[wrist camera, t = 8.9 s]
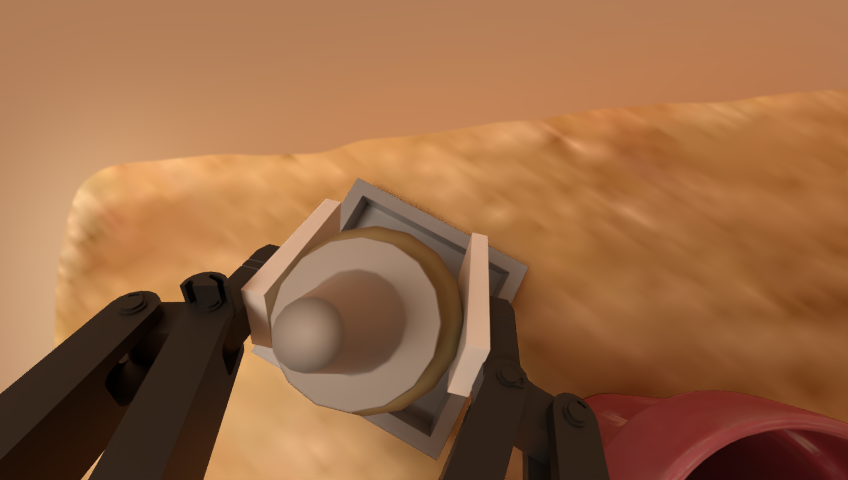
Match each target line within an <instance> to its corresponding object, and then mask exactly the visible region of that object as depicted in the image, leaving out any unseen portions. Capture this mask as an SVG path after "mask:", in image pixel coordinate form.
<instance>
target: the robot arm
mask: <svg viewBox="0 0 848 480" xmlns="http://www.w3.org/2000/svg"><path fill="white" fill-rule="evenodd" d="M340 218H341V202H338V201H334V200H330V199H325V200H324V201H323V202H322V203H321V204H320V205H319V206H318V208H317V209H316V210H315V211H314V212H313V213H312V214H311V215H310V216H309V217H308V218H307V219H306V220H305V221H304V222H303V224H302V225H301V226H300V227H299V228H298V229H297V230H296V231H295V232H294V233H293V234H292V235H291V236H290V237H289V239H288V240H287V241H286V242H285V243H284V244H283V245H282V246H281V247H279V246H275V245H271V244H269V245H266V246H264V247H262V248H260V249H258V250H257V251H256V252H255V253H254V254H253V255H252V256H251V257H250V258H249V260H247V261H245V262H244V263H243V264H242V266H240V267H239V268H238V269H237V270H236V271H235V272H234V273H233V274H232V275H231V276H230V277H229V278H228V279H227V277H226V276H225V275H223V274H221V273H218V272H202V273H199V274H196V275H193V276H191V277H189V278H188V279H186V280H185V281H184V282H183V283H182V284H181V285H180V288H181V290H182V293H183V296H184V299H185V302H161V300H160V298H159V297H158V295H157V294H156V293H153V292H150V291H137V292H132V293H128V294H126V295H123V296H121V297H119V298H117V299H116V300H114V301H113V302H111V303H110V304H109V305H107V306H106V307H105V308H104V309H103V310H101V311H100V312H99V313H98V314H96V315H95V316H94V317H93V318H92V319H90V320H89V321H88V322H87V323H86V324H84V325H83V326H82V327H81V328H80V329H78V330H77V331H76V332H75V333H74V334H72V335H71V336H70V337H69V338H67V339H66V340H65V341H64V342H63V343H61V344H60V345H59V346H58V347H57V348H55V349H54V350H53V351H52V352H51V353H49V354H48V355H47V356H46V357H45V358H43V359H42V360H41V361H40V362H39V363H37V364H36V365H35V366H34V367H32V368H31V369H30V370H29V371H28V372H26V373H25V374H24V375H23V376H22V377H20V378H19V379H18V380H17V381H15V382H14V383H13V384H12V385H11V386H9V388H7V389H6V390H5V391H3V392H2V393H1V394H0V480H81V479H82V477H83V476H84V475H85V474H86V472H87V471H88V470H89V469H90V467H91V466H92V465H93V464H94V463H95V461H96V460H97V459H98V458H99V456H100V455H101V454H102V453H103V454H102V456H101V458H100V460H99V461H98V463H97V465H96V467H95V468H94V470H93V472H92V474H91V476H90V477H89V479H88V480H203V479H204V476H205V473H206V470H207V466H208V463H209V460H210V457H211V454H212V451H213V448H214V444H215V441H216V438H217V435H218V432H219V429H220V426H221V422H222V419H223V416H224V413H225V410H226V407H227V404H228V400H229V397H230V394H231V391H232V388H233V385H234V382H235V378H236V375H237V372H238V369H239V366H240V363H241V360H242V356H243V353H244V344H243V343H244V341H245V340H246V339H247V337H248V336H249V335H251V340H252V344H255V345H259V346H263V347H267V348H272V336H271V319H270V317H271V314H272V311H273V307H274V304H275V301H276V298H277V295H278V292H279V288H280V285H281V283H282V282H283V281H284V280H285V278H286V277H287V276H288V275H289V273H290V272H291V271H292V270H293V268H294V267H295V266H296V265H297V264H298V262H299V261H300V260H301V259H302V258H303V257H304V256H306V255H307V254H308V253H309V252H310V250H311V249H312V248H314V247H316V246H317V245H319V244H321V243H323V242H324V241H326V240H328V239H329V238H331V237H333V236H335V235H336V234H338V233H340ZM458 293H459V298H460V304H461V309H462V315H463V323H462V328H461V333H460V338H459V343H458V347H457V352H456V356H455V358H454V359H453V361H452V362H451V364H450V370H449V380H448V390H447V392H449V393H453V394H457V395H461V396H465V397H469V394H470V392H471V390H472V397H471V404H470V406H469V408H468V410H467V412H466V414H465V416H464V418H463V419H464V420H463V422H462V425H461V427H460V430H459V432H458V434H457V437H456V439H455V442H454V444H453V446H452V449H451V451H450V454H449V456H448V458H447V461H446V463H445V466H444V468H443V470H442V473H441V475H440V477H439V480H504V479H505V475H506V471H507V467H508V464H509V460H510V456H511V452H512V448H513V446H515V447H516V448H518V449H519V450H521V451H523V480H610V478H609V473H608V468H607V464H606V459H605V454H604V449H603V444H602V440H601V435H600V430H599V425H598V421H597V418H596V416H595V413H594V412H593V410H592V409H591V408H590V406H589V405H588V404H587V403H586V402H585V401H583V400H582V399H581V398H579V397H577V396H575V395H573V394H570V393H562V394H558V395H557V396H556V397H554V396H552V395H550V394H549V393H547V392H545V391H543V390H542V389H540V388H538V387H537V386H535V385H534V384H533V383H531V382H530V381H529V380H528V378H527V376H526V373H525V372H524V371H523V369H522V368H521V366H520V361H519V351H518V342H517V333H516V324H515V315H514V310H513V308H512V306H511V304H510V303H509V301H508V300H506V299H502V298H497V297H493V296H489V271H488V236H485V235H481V234H477V233H472V235H471V238H470V241H469V244H468V247H467V251H466V254H465V257H464V260H463V264H462V267H461V270H460V273H459V279H458ZM104 450H105V451H104ZM103 451H104V452H103Z"/></svg>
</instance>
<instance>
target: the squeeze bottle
mask: <svg viewBox="0 0 848 480" xmlns="http://www.w3.org/2000/svg"><path fill="white" fill-rule="evenodd" d="M270 319H271V336H272V348H273V353H274V355H275V357H276V359H277V361H278V363H279V365H280V367H281V369H282V371H283V373H284V375H285V377H286V379H287V381H288V383H290V384H291V385H292V386H293V387H294V388H296V389H297V390H298V391H299V392H301V393H302V394H303V395H304V396H306V397H307V398H308V399H309V400H311V401H312V402H313V403H314V404H316V405H319V406H323V407H327V408H331V409H335V410H339V411H343V412H347V413H352V414H356V415H360V416H364V417H365V416H371V415H376V414H382V413H387V412H393V411H398V410H403V409H404V408H406V407H407V406H409V405H410V404H412V403H413V402H415V401H416V400H418V399H419V398H421V397H422V396H424V395H425V394H427V393H428V392H430V391H431V390H433V389H434V388H435V387H436V385H437V384H438V382H439V381H440V379H441V378H442V376H443V375H444V373H445V372H446V370H447V368H448V367H449V365H450V364H451V362H452V361H453V359H454V358H455V356H456V352H457V347H458V343H459V338H460V333H461V328H462V323H463V315H462V309H461V304H460V298H459V293H458V287H457V283H456V281H455V280H454V278H453V276H452V275H451V273H450V272H449V270H448V269H447V267H446V265H445V264H444V262H443V261H442V259H441V258H440V256H439V254H438V253H437V252H435V251H434V250H432V249H431V248H430V247H428V246H427V245H425V244H424V243H423V242H421V241H420V240H418V239H417V238H415V237H414V236H413V235H411V234H410V233H406V232H401V231H397V230H393V229H388V228H384V227H380V226H371V227H365V228H359V229H352V230H346V231H341V232H340V233H338V234H336V235H335V236H333V237H331V238H329V239H328V240H326V241H324V242H323V243H321V244H319V245H317V246H316V247H314V248H312V249H311V250H310V252H309V253H308V254H307V255H306V256H304V257H303V258H302V259H301V260H300V261H299V262H298V264H297V265H296V266H295V267H294V268H293V270H292V271H291V272H290V273H289V275H288V276H287V277H286V278H285V280H284V281H283V282H282V283H281V285H280V288H279V292H278V295H277V298H276V301H275V304H274V307H273V311H272V314H271V317H270Z"/></svg>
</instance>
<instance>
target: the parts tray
mask: <svg viewBox="0 0 848 480" xmlns="http://www.w3.org/2000/svg"><path fill="white" fill-rule="evenodd" d="M371 226H380V227H384V228H388V229H393V230H397V231H401V232H406V233H410V234H411V235H413V236H414V237H415V238H417V239H418V240H420V241H421V242H423V243H424V244H425V245H427V246H428V247H430V248H431V249H432V250H434V251H435V252H437V253H438V254H439V256H440V258H441V259H442V261H443V262H444V264H445V265H446V267H447V269H448V270H449V272H450V273H451V275H452V276H453V278H454V280H455V281H456V283H457V287H458V279H459V273H460V270H461V267H462V264H463V260H464V257H465V254H466V251H467V247H468V244H469V241H470V238H471V236H469V235H467V234H465V233H463V232H461V231H459V230H457V229H455V228H454V227H452V226H450V225H448V224H446V223H444V222H442V221H440V220H438V219H436V218H434V217H432V216H431V215H429V214H427V213H425V212H423V211H421V210H419V209H417V208H415V207H413V206H411V205H409V204H408V203H406V202H404V201H402V200H400V199H398V198H396V197H394V196H392V195H390V194H388V193H386V192H385V191H383V190H381V189H379V188H377V187H375V186H373V185H371V184H369V183H367V182H365V181H363V180H362V179H360V178H357V180H356V182H355V183H354V185H353V187H352V188H351V190H350V191H349V193H348V195H347V196H346V198H345V200H344V201H343V203H342V204H341V218H340V232H341V231H346V230H352V229H359V228H365V227H371ZM527 269H528V266H526V265H524V264H523V263H521V262H519V261H517V260H515V259H513V258H511V257H509V256H507V255H505V254H503V253H501V252H500V251H498V250H496V249H494V248H492V247H490V246H488V271H489V296H493V297H497V298H502V299H506V300H508V301H509V303H510V304H511V303H512V301H513V299H514V297H515V295H516V293H517V290H518V288H519V286H520V284H521V282H522V280H523V278H524V276H525V274H526V271H527ZM252 353H254V354H256V355H258V356H259V357H261V358H263V359H264V360H266V361H268V362H270V363H271V364H273V365H275V366H276V367H278V368H280V369H281V367H280V365H279V363H278V361H277V359H276V357H275V355H274V353H273V348H267V347H263V346H259V345H255V347H254V348H253V350H252ZM281 370H282V369H281ZM449 370H450V365H449V367H448V368H447V370H446V372H445V373H444V375H443V376H442V378H441V379H440V381H439V382H438V384H437V385H436V387H435V388H434V389H433V390H431V391H430V392H428V393H427V394H425V395H424V396H422V397H421V398H419V399H418V400H416V401H415V402H413V403H412V404H410V405H409V406H407V407H406V408H404V409H403V410H398V411H393V412H387V413H382V414H376V415H371V416H365V417H364V416H361V417H363V418H365V419H367V420H368V421H370V422H372V423H373V424H375V425H377V426H379V427H380V428H382V429H384V430H385V431H387V432H389V433H390V434H392V435H394V436H396V437H397V438H399V439H401V440H402V441H404V442H406V443H407V444H409V445H411V446H413V447H414V448H416V449H418V450H419V451H421V452H423V453H424V454H426V455H428V456H430V457H431V458H433V459H435V460H436V461H437V459H438V457H439V455H440V453H441V451H442V449H443V447H444V445H445V442H446V440H447V438H448V436H449V434H450V432H451V430H452V428H453V426H454V423H455V421H456V419H457V417H458V415H459V413H460V411H461V409H462V407H463V404H464V402H465V400H466V398H467V397H465V396H461V395H457V394H453V393H449V392H447V390H448V380H449Z"/></svg>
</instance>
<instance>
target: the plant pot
mask: <svg viewBox="0 0 848 480" xmlns="http://www.w3.org/2000/svg"><path fill="white" fill-rule="evenodd" d="M583 401H585V402H586V403H587V404H588V405H589V406H590V408H591V409H592V410H593V412H594V413H595V416H596V418H597V421H598V425H599V430H600V435H601V440H602V444H603V449H604V454H605V459H606V464H607V468H608V473H609V478H610V480H848V424H847V423H845V422H842V421H839V420H836V419H833V418H830V417H826V416H823V415H820V414H817V413H814V412H811V411H807V410H804V409H800V408H796V407H793V406H789V405H786V404H782V403H779V402H775V401H772V400H768V399H764V398H760V397H755V396H751V395H746V394H742V393H737V392H730V391H714V390H710V391H694V392H687V393H683V394H678V395H675V396H672V397H669V398H654V397H644V396H630V395H620V394H599V395H594V396H591V397H588V398H586V399H584V400H583Z"/></svg>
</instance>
